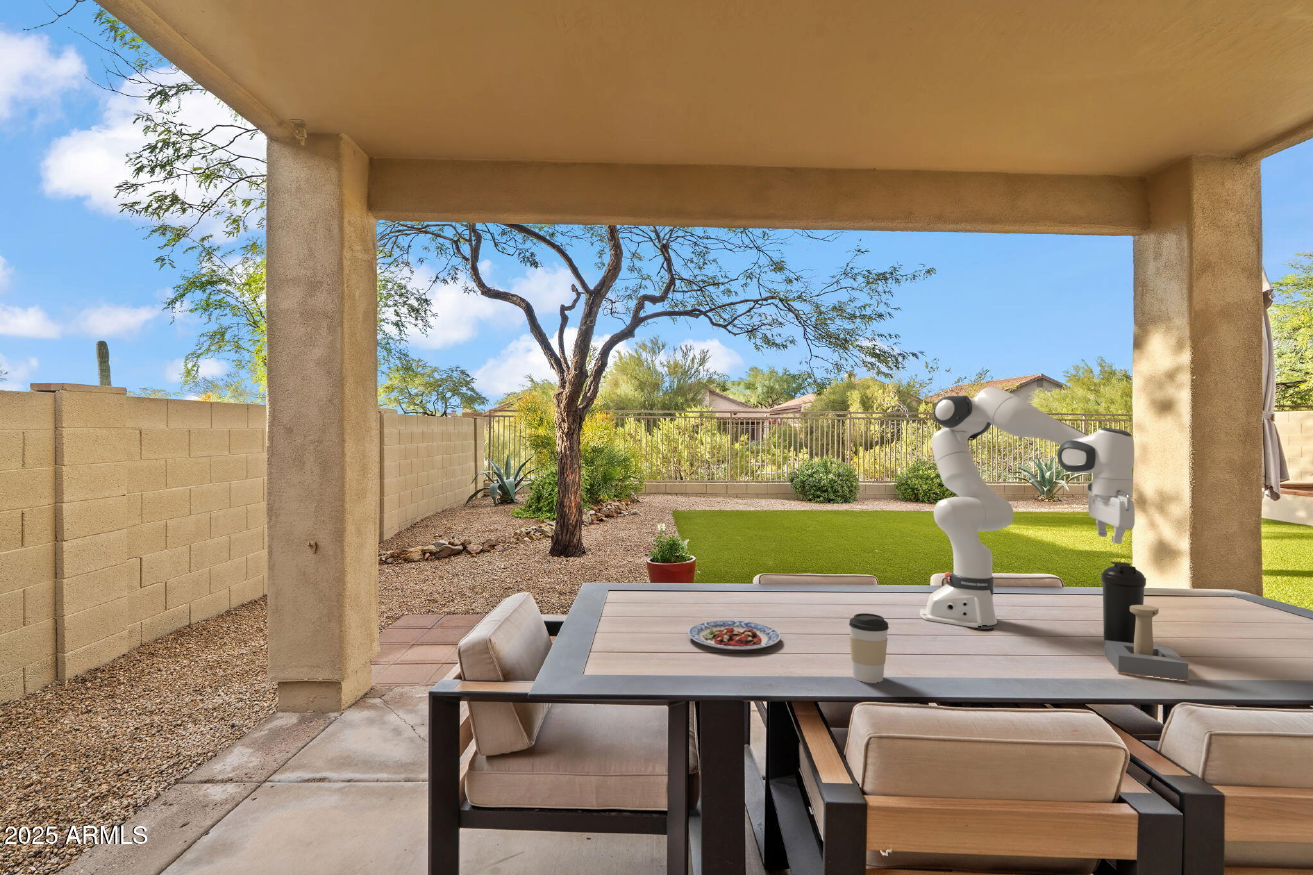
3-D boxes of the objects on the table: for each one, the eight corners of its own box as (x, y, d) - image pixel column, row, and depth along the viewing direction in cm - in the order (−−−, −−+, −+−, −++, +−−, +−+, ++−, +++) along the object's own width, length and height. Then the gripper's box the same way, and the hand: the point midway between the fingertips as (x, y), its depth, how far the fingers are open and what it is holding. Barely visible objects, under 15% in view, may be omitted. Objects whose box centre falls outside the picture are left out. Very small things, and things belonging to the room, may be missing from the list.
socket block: (1118, 673, 162) (1118, 655, 162) (1104, 657, 174) (1104, 640, 174) (1188, 682, 157) (1188, 663, 157) (1168, 664, 169) (1169, 647, 169)
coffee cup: (842, 671, 162) (843, 610, 161) (878, 670, 162) (879, 609, 162) (857, 685, 152) (857, 620, 152) (894, 684, 153) (895, 620, 153)
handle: (1162, 669, 164) (1163, 609, 164) (1143, 671, 162) (1144, 610, 162) (1142, 662, 169) (1144, 604, 168) (1124, 664, 167) (1125, 605, 167)
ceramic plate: (790, 634, 191) (790, 624, 191) (765, 662, 168) (765, 650, 168) (707, 623, 202) (707, 613, 202) (673, 647, 179) (673, 636, 179)
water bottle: (1137, 643, 186) (1138, 562, 186) (1150, 654, 177) (1152, 569, 176) (1095, 639, 189) (1096, 559, 189) (1106, 649, 180) (1108, 566, 180)
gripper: (1143, 494, 166) (1140, 548, 166) (1109, 485, 186) (1107, 533, 186) (1115, 493, 167) (1112, 546, 168) (1084, 483, 187) (1081, 532, 188)
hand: (1109, 539), depth 177 cm, fingers open, 8 cm apart
